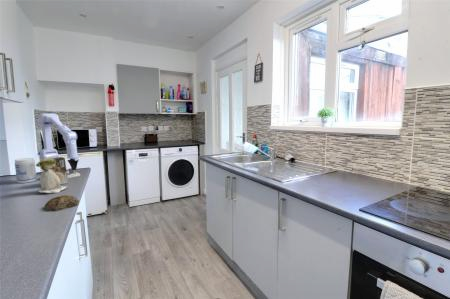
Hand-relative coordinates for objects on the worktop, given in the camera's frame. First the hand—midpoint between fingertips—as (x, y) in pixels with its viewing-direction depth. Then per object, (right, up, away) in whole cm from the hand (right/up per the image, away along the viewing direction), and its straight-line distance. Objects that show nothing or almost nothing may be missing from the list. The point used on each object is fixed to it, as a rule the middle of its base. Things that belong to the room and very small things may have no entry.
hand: (74, 169), depth 154 cm
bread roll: (+27, -13, -49) cm, 58 cm away
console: (-9, -5, +4) cm, 11 cm away
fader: (-5, -3, +4) cm, 7 cm away
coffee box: (0, -8, -15) cm, 17 cm away
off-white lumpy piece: (+6, -9, -28) cm, 30 cm away
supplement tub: (-25, -7, -8) cm, 27 cm away
